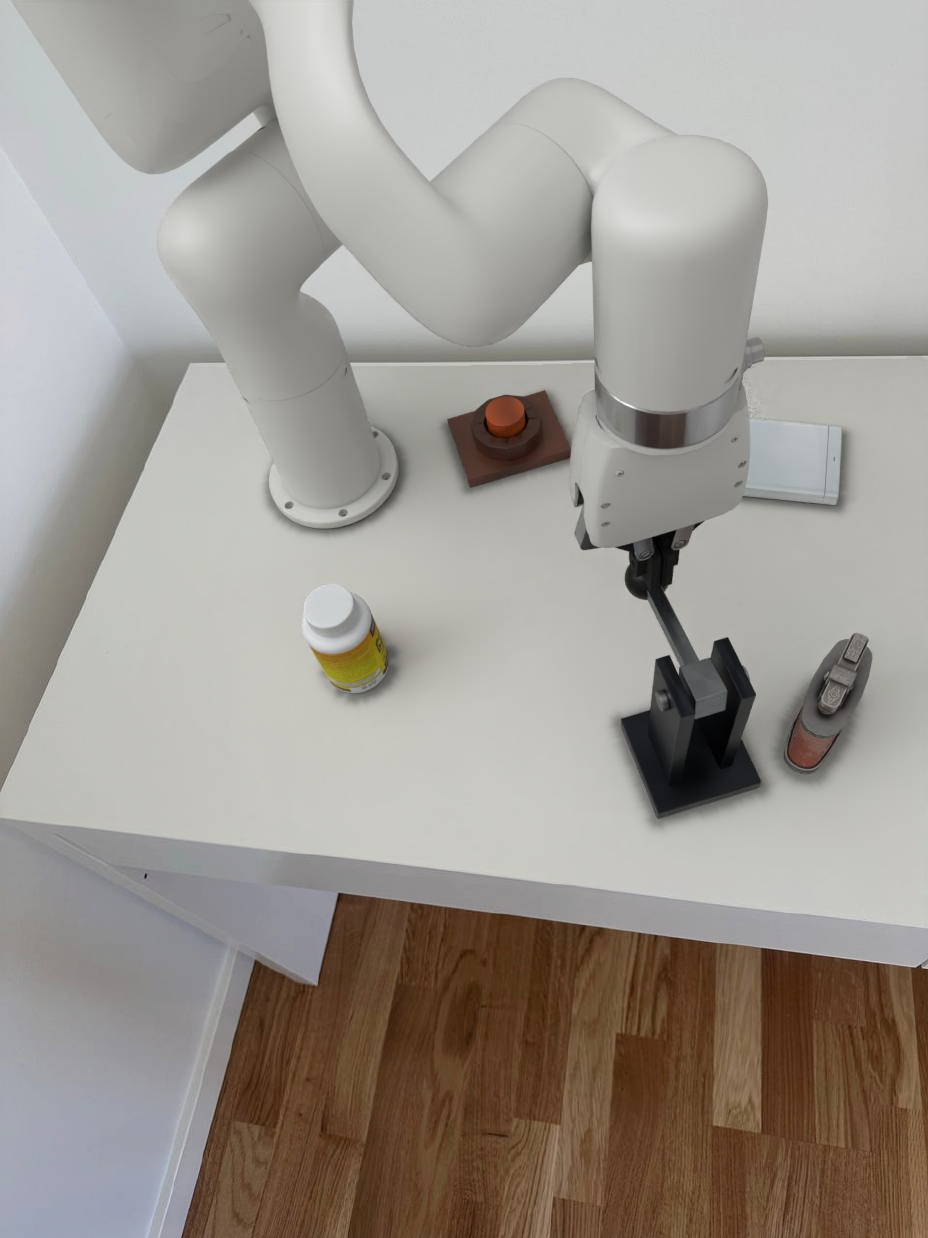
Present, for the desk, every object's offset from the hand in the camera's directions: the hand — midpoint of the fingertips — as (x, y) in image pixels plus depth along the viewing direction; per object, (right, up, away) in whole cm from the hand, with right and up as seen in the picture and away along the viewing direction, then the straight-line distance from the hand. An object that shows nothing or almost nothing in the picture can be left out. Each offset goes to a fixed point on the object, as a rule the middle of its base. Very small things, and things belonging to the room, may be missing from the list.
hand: (652, 571), depth 64 cm
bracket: (+4, -14, +6) cm, 16 cm away
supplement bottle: (-22, -7, +14) cm, 27 cm away
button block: (-9, +14, +24) cm, 29 cm away
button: (-9, +15, +21) cm, 28 cm away
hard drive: (+14, +11, +19) cm, 26 cm away
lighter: (+14, -12, +6) cm, 19 cm away
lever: (+1, -5, 0) cm, 5 cm away
